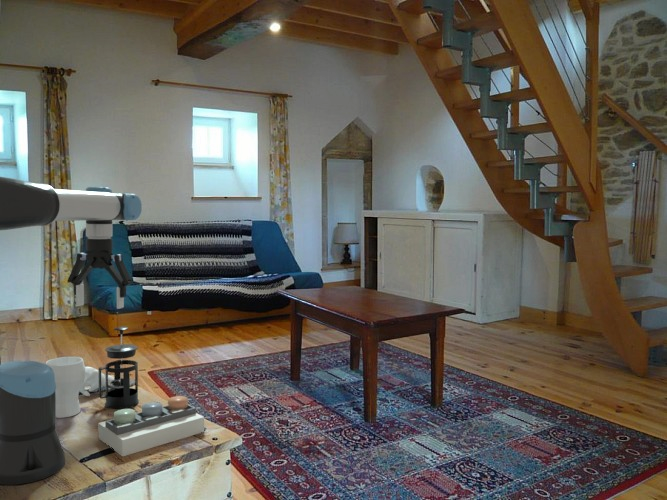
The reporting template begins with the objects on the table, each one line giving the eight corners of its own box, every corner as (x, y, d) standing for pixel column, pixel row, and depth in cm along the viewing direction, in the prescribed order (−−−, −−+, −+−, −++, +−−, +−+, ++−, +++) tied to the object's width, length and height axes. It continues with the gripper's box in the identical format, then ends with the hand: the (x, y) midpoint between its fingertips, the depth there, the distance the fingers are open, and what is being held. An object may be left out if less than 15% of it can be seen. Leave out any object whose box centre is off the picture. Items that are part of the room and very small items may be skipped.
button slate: (147, 418, 141) (147, 410, 141) (138, 412, 145) (138, 405, 145) (166, 413, 145) (165, 405, 145) (156, 408, 148) (156, 400, 148)
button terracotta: (174, 411, 146) (174, 403, 146) (164, 406, 150) (164, 398, 150) (191, 406, 150) (191, 399, 150) (181, 401, 153) (181, 394, 153)
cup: (74, 420, 154) (74, 366, 152) (36, 419, 154) (35, 365, 153) (92, 406, 164) (91, 356, 163) (56, 405, 164) (55, 355, 163)
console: (122, 456, 132) (122, 433, 132) (98, 438, 142) (98, 417, 142) (204, 431, 148) (204, 411, 147) (177, 416, 158) (177, 397, 157)
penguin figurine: (73, 365, 175) (112, 362, 183) (71, 392, 175) (110, 388, 183) (79, 370, 170) (119, 367, 178) (77, 398, 170) (117, 394, 178)
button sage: (119, 425, 136) (119, 417, 136) (110, 419, 140) (110, 412, 139) (138, 420, 140) (138, 412, 139) (129, 415, 143) (129, 407, 143)
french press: (135, 395, 174) (134, 322, 173) (145, 404, 167) (145, 328, 165) (95, 403, 167) (94, 327, 165) (104, 412, 160) (103, 333, 158)
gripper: (143, 238, 173) (143, 306, 174) (70, 236, 177) (71, 302, 179) (130, 239, 165) (130, 311, 167) (54, 237, 170) (55, 306, 171)
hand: (100, 306), depth 173 cm, fingers open, 13 cm apart
